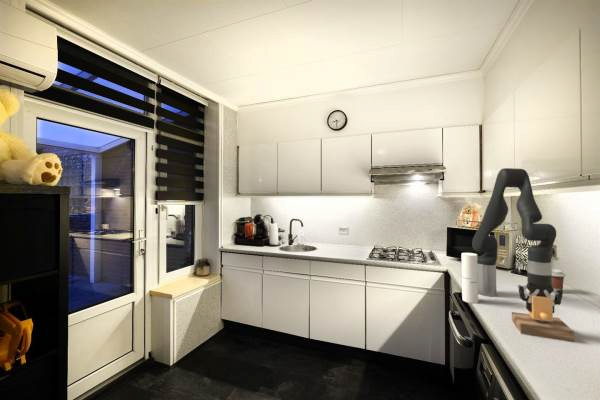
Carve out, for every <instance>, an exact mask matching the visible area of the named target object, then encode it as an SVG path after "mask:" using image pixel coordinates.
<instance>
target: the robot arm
mask: <svg viewBox="0 0 600 400" xmlns="http://www.w3.org/2000/svg"><path fill="white" fill-rule="evenodd" d="M507 188H513V189H514V188H518V190H519V192H520V195H519V197H518V199H517V201H516V205H515V206H516V210H517V212H518V215H519V216H520V219H521V220H520V221H521V234H522V237H523V238H524V239H525V240H527V241H529V242H531V241H532V242H535V241H536V242H538V241H539V243H538V244H537V245H532V246H529V247H528V248H527V263H526V265H527V267H526V270H527V272H526V276H527V277H526V278H527V282H526V285H521V284H518V285H517V287H518V293H519V298H520V300H522V302H525V308H526V310H527V311H529V312H532V303H531V302H532V296H542V297H547V298H552V297H551V294H552V293H553V294H554V300H553V314H555V306H560V305H561V304H562V299H563V291H564V290H563V291H562V290H560V289H558V288H557V289H555V288H553V287H552V269H553V268H552V260H551V259H552V257H551V256H552V255H551V253H552V249H553V246H554V243H555V241H556V237H557V230H556V227H555V226H554V225H552V224H550V223H539V222H540V221H541V220H542V219H543V214H542V212H541V210H540V207H539V206H538V204H537V202H536V200H535V197H534V192H533V189H532V184H531V179H530V176H529V174H528V171H527V170H525V169H523V168H512V167H511V168H510V167H508V168H507V167H506V168H505V167H504V168H501V169H500V170H499V172H498V173H497V175H496V178H495V183H494V186H493V188H492V189H493V190H492V193H491V196H490V199H489V202H488V204H487V206H486V208H485V211H484V215H483V218H482V220H481V222H480V224H479V227H478V229H477V230H476V232H475V234H474V236H473V237H472V241H471V243H472V244H471V246H472V248H473V250H474V251H475V252H480V253H483V252H484V253H483V254H482V255H479V256H477V266H478V295H482V296H487V297H497V259H498V240H497V238H496V237H495V236H494V235H491V233H492V232H494V230H496V229H497V228H499V227H500V226H501V225H502V224H503V223H504V222H505V220H506V218H507V215H508V212H509V206H508V203H507V202H506V200H505V195H504V194H505V190H506V189H507ZM526 290H528V292H529V293H528V292H527V296H526V294H525V292H526ZM553 291H554V292H553ZM530 294H532V295H530Z"/></svg>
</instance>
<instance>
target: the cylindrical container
mask: <svg viewBox="0 0 600 400" xmlns="http://www.w3.org/2000/svg"><path fill="white" fill-rule="evenodd" d="M477 257H478V254H477V253H473V252H462V253H461V291H462V292H461V293H462V294H461V297H462V301H463V302H465V303H468V304H477V303H479V293H478V266H477Z"/></svg>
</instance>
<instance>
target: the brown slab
mask: <svg viewBox="0 0 600 400" xmlns="http://www.w3.org/2000/svg"><path fill="white" fill-rule="evenodd" d="M511 321H512V323H513V325H514V326H515V328H516V329H517V330H518V331H519V333H520V334H521V335H527V336H535V337H541V338H547V339H554V340H560V341H565V342H575V331H574V330H573V329H572V328H571V327H570V326H569V325H568V324H566V323H565V322H564V321H563V320H562V319H561V318H560V317H554V316H553V322H550V321H543V320H535V319H533V318H532V317H531V316H530V315H529V314H528V313H523V312H515V311H514V312H513V311H511Z"/></svg>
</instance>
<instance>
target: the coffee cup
mask: <svg viewBox="0 0 600 400" xmlns="http://www.w3.org/2000/svg"><path fill="white" fill-rule="evenodd" d="M565 278H566V274H565V273H564V272H563V271H562V270H561V269H555V268H552V287H553V288H555V289H557V288H558V289H560V290H562V291H564V280H565ZM552 293H554V291H553V292H552Z"/></svg>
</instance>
